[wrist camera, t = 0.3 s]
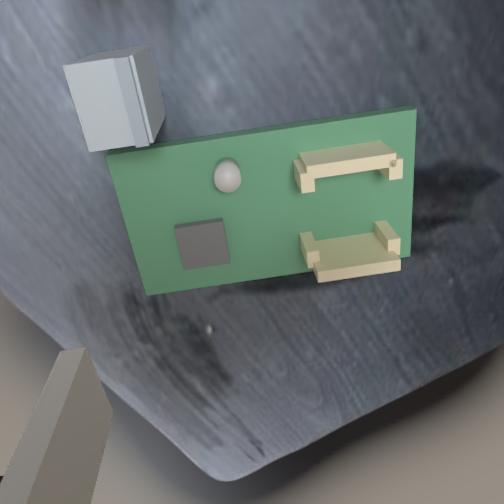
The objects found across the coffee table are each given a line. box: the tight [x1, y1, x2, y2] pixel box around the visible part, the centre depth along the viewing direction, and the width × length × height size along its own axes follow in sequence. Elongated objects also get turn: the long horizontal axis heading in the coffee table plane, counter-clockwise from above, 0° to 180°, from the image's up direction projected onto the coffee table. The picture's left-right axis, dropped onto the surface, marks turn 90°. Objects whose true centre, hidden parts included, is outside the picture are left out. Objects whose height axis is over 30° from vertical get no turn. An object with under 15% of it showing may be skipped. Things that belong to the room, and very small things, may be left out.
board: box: [105, 106, 417, 296], centre depth 36 cm, size 13×24×6 cm, turn 98°
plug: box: [63, 45, 166, 152], centre depth 30 cm, size 5×4×9 cm
